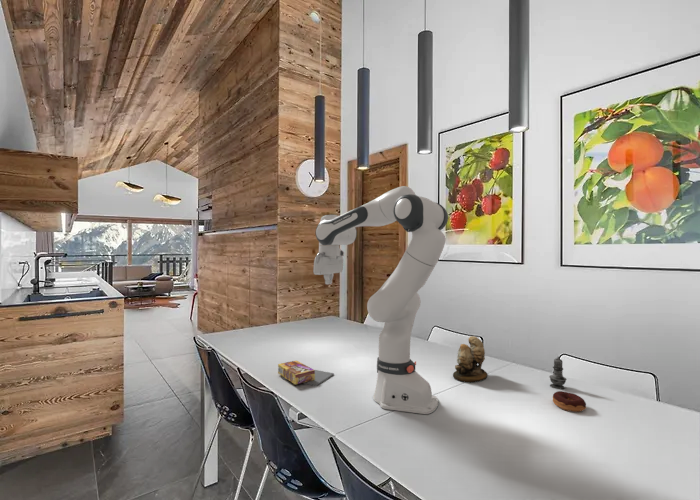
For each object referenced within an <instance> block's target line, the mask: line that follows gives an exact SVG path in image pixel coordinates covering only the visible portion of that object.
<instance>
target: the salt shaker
mask: <svg viewBox="0 0 700 500" xmlns="http://www.w3.org/2000/svg"><path fill="white" fill-rule="evenodd" d="M552 368H553V373H552V375H549V377H548V378H549V380H550V382H551V384H549V387H550V388H553V389H555V390H559V391H563V390H566V386H564V385H565V383H566V381H567V378H566V377H564V375H563V370H564V368H563V360H562V359H561V358H560V356H557V358H554V359H553V366H552Z"/></svg>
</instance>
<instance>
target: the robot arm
mask: <svg viewBox="0 0 700 500" xmlns="http://www.w3.org/2000/svg"><path fill="white" fill-rule="evenodd" d="M448 221H449V214H448V211H447V209H446V208H445V207H444V206H443V205H441V204H440V203H438V202H435V201H433V200H431V199H429V198H426V197H423V196H420V195H416V193H415V191H414V190H413V189H412V188H410V186H407V185H404V186H403V185H401V186H398V187H395V188H393V189H391V190H388V191H386V192H384V193H383V194H381V195H380V196H377V197H376V198H375V199H372V200H370V201H368V202H367V203H364V204H363V205H360V206H357V207H356V208H353V209H351V210H348V211H347V212H345V213H342V214H341V215H337V214H326V215H322V216H321V218H320V222H319V223H318V225H317V226H316V229H315V231H314V232H315V237H316V239H317V241H318V252H317V254H316V255H315V258H314V259H313V271H312V272H313V275H316V276H317V275H318V276H321V275H322V276H323V279H324V284H325V285H332V284H333V279H334V276H335V275H334V274H338V273H342V272H343V269H344V256H345V252H344V251H343V250H342V249H341V248H340V246H347V245H352V244H354V242H355V241H356V239H357V234H358V231H357V228H359V227H383V226H388V225H390V224H393V223H395V222H398V223H399V225H401V226H402V228H403V229H404V231H405V232H406V233H411V235H412V236H411V240H410V242H409V244H408V246H407V248H406V249H405V251H404V253H403V255H402V256H401V258H400V260H399V262H398V264H397V266H396V268H395V269H394V270H393V272H392V273H391V274H390V276H388V278H387V279H386V280H385V281H384V283H383V284H382V285H381V286H380V288H379V289H378V290H377V291H376V292H374V294H372V295H371V296H370V297H369V298H368V300H367V303H366V308H367V313H368V315H369V317H370V318H371V319H372V320H373V321H376V322H378V323H384V325H383V328H382V329H381V331H380V333H379V336H378V357H377V358H376V360H377V361H376V373H377V378H376V385H375V389H374V393H373V396H372V398H373V400H374V401H375V402H376V403H377V404H379V405H380V408H382V409H384V410H389V411H390V410H391V411H399V412H406V413H414V414H420V415H429V414H431V413H433V412H434V411H436V410H437V408H438V406H439V398H438V397H437V396H435V395H433V393H432V387H431V385H430V382H428V380H426V379H425V378H424V377H423V376H422V375H420V374H419V373H418V372H417V371H416V365H417V361H413V360H412V359H411V337H412V331H413V327H414V324H415V319H416V315H417V312H418V310H419V309H420V307H421V297H420V295H419V293H418V292H419V291H420V289H422V288H423V287H424V286H425V284H426V283H427V281H428V279H429V278H430V276H431V275H432V272H433V271H434V269H435V267H436V266H437V263H438V262H439V260H440V257H441V255H442V254H443V251H444V248H445V244H446V236H445V234H444V232H443V231H442V230H443V229H444V228H445V226H447V224H448Z"/></svg>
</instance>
